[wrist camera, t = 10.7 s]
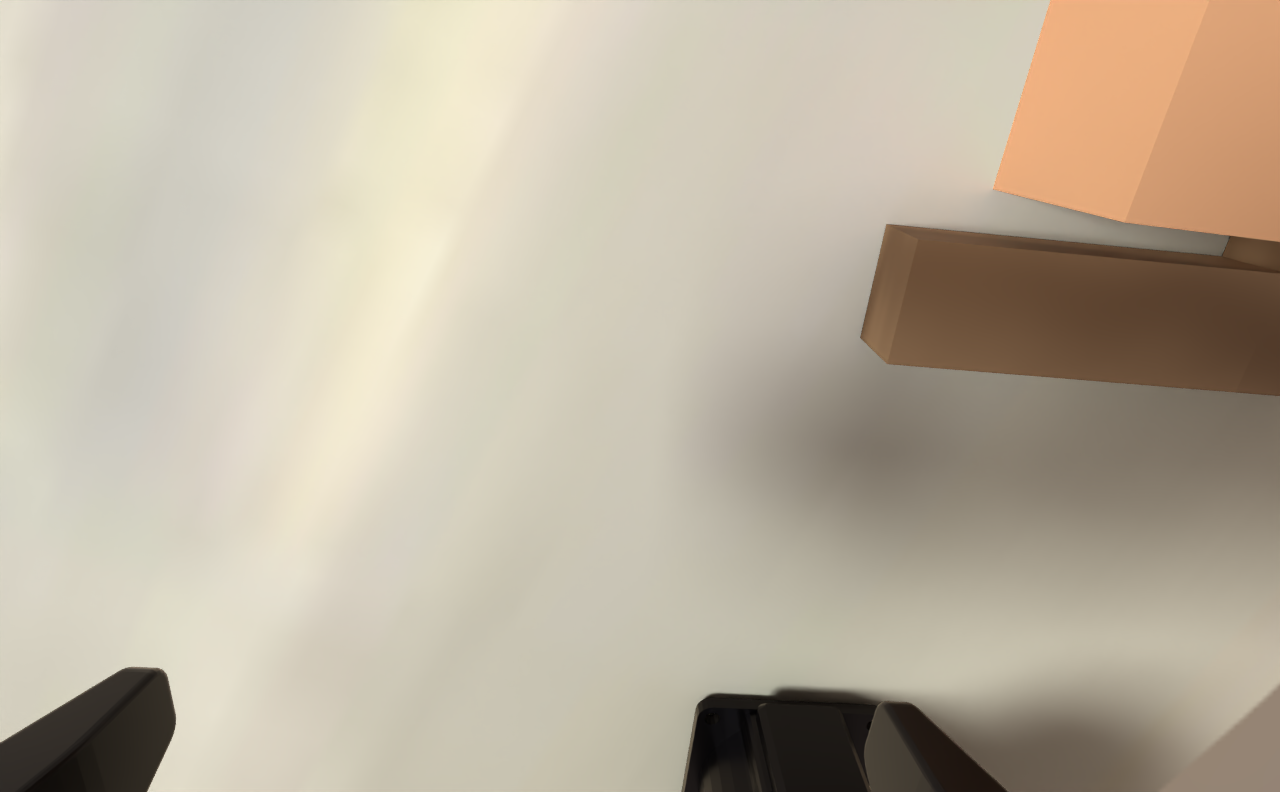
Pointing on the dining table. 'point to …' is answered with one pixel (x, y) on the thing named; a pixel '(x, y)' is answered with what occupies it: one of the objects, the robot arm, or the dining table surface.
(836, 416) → the dining table surface
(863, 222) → the dining table surface
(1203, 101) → the block
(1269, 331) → the notched board
